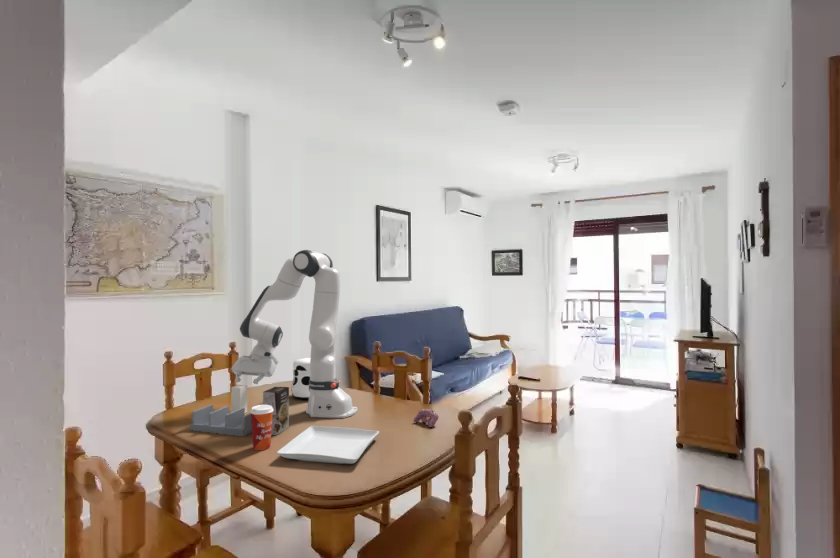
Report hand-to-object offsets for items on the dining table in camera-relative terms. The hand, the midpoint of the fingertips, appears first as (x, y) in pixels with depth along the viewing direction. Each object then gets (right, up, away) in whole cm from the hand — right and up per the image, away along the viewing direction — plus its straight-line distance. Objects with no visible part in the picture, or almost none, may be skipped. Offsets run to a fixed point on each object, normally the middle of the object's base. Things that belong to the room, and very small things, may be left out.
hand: (245, 382), depth 195 cm
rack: (+2, -13, -23) cm, 26 cm away
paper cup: (+22, -13, -42) cm, 49 cm away
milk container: (+22, -13, +24) cm, 35 cm away
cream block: (-1, -13, -4) cm, 13 cm away
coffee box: (+22, -13, -25) cm, 36 cm away
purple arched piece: (+80, -13, -16) cm, 83 cm away
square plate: (+47, -13, -44) cm, 65 cm away
